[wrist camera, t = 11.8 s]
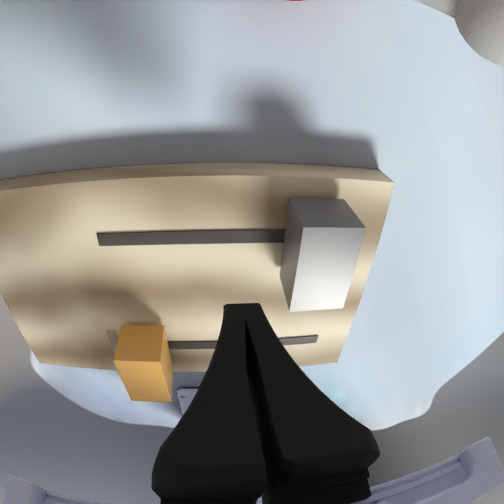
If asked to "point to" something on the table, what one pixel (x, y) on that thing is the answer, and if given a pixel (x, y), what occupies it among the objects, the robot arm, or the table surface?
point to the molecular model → (476, 24)
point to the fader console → (170, 255)
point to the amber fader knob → (145, 362)
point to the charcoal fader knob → (319, 253)
